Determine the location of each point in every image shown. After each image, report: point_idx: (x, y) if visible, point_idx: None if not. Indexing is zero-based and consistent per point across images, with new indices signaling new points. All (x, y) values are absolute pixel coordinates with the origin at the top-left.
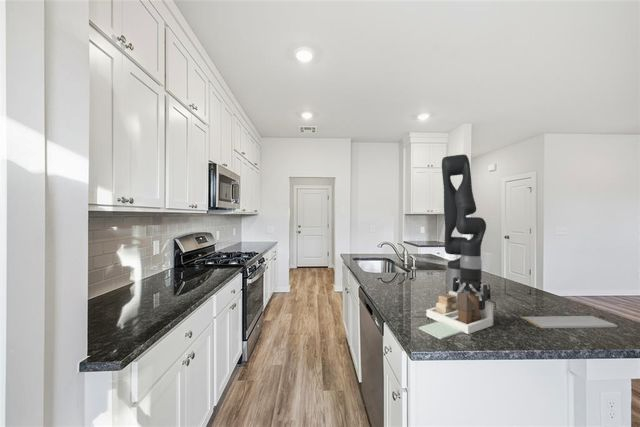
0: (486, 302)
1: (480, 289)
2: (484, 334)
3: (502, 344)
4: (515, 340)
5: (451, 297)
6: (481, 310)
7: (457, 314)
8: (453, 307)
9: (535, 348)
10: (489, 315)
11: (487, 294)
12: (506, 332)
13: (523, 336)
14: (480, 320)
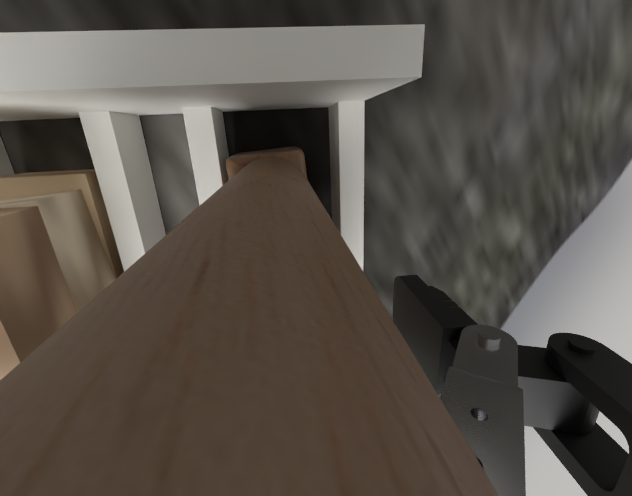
0: (349, 80)
1: (521, 470)
2: (394, 267)
3: (493, 285)
4: (520, 181)
5: (8, 332)
6: (275, 99)
7: (150, 227)
8: (83, 245)
9: (607, 179)
10: (351, 98)
11: (625, 415)
12: (452, 117)
13: (535, 73)
14: (345, 226)
